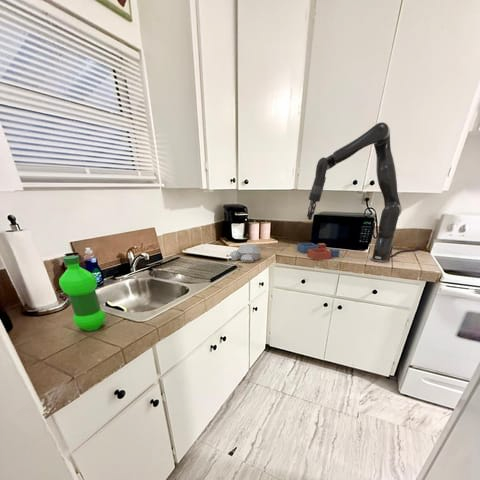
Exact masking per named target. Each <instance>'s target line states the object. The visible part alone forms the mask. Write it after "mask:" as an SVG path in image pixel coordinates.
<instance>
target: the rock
mask: <svg viewBox="0 0 480 480" xmlns="http://www.w3.org/2000/svg"><path fill="white" fill-rule="evenodd" d="M261 254H262V251H261V249H260V247H259V245H258V244H251V243H248V244H247V243H245V244H240V245H239V247H238V248H237V250H233V251H231V252H230V253H229V255H228V257H230V256H231V257H232V258H230V260H231V261H238V260H240V261H241V263H254V261H258V260H260V259H261Z"/></svg>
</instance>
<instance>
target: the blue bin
mask: <svg viewBox="0 0 480 480" xmlns="http://www.w3.org/2000/svg"><path fill="white" fill-rule="evenodd" d="M318 247H319V246H318V244H315V243H313V242H300V243H297V245H296V250H297V251H299V252H300V253H302V254H308V249H318Z"/></svg>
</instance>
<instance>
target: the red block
mask: <svg viewBox="0 0 480 480" xmlns="http://www.w3.org/2000/svg"><path fill="white" fill-rule="evenodd" d="M317 245H318V246H319V247H318V248H324V249H326V250H327V244H326V243H324V242H322V243H321V242H319V243H317Z"/></svg>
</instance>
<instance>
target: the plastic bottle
mask: <svg viewBox="0 0 480 480" xmlns="http://www.w3.org/2000/svg"><path fill="white" fill-rule="evenodd" d="M62 260H63V264H64V265H65V266H66V267H67V269H66V270H65V271H64V273H63V274H62V275H61V276H60V277H59V279H58V284H59V287H60V289H61V291H62V292H63V293H65V294H66V295H67V296H68V299H69V302H70V304H71V308H72V310H73V317H72V320H73V323H74V324H75V325H76V326H77V327H78V328H79V329H80V330H84V331H86V332H92V331H96V330H98V329H100V328H101V327H102V325H103V324H104V322H105V321H106V318H107V317H106V313H105V311H104V310H103V309H102V308H101V306H100V303H99V299H98V295H97V291H96V289H97V287H98V279H97V277H96V276H95V274H93V273H92V272H90V271H88V270H87V269H85V268H83V267H81V266H80V263H81V260H80V257H79V255H75V254H74V255H66V256H63V257H62Z"/></svg>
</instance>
